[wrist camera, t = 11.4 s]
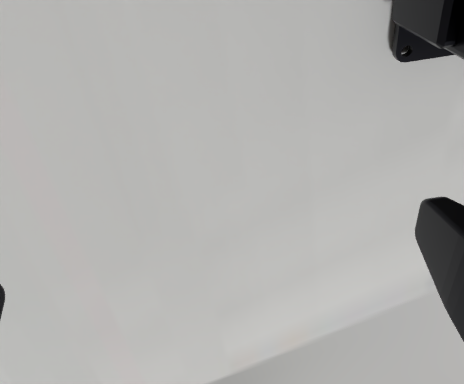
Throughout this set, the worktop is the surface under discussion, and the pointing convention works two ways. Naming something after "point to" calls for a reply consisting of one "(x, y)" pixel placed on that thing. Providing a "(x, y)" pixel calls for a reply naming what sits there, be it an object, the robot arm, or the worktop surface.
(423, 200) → the robot arm
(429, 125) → the worktop surface
